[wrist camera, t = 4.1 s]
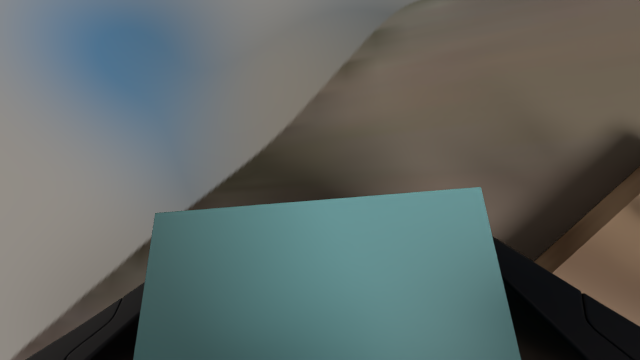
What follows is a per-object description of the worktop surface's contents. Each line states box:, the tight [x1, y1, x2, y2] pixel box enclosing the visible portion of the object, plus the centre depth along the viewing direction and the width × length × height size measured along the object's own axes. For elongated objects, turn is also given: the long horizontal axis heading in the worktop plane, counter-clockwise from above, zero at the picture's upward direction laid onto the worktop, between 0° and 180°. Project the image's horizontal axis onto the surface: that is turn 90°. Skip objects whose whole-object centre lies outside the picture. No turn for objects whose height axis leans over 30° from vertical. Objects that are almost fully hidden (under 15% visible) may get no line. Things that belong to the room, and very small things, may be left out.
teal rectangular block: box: [133, 187, 521, 360], centre depth 9 cm, size 4×6×11 cm, turn 92°
